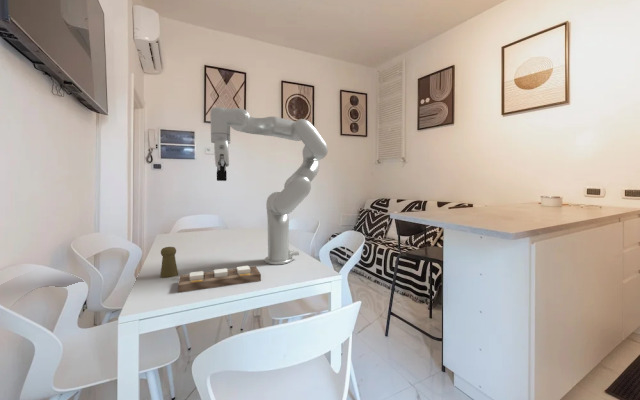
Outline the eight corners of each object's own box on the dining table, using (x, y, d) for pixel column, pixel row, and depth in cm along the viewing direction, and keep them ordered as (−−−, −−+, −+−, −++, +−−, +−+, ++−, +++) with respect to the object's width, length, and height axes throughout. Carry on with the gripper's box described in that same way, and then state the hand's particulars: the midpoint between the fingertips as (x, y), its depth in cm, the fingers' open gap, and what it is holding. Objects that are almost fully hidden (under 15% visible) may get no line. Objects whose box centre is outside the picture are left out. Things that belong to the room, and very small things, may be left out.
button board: (255, 272, 109) (255, 265, 109) (260, 280, 100) (260, 273, 100) (180, 282, 98) (180, 274, 98) (178, 292, 89) (178, 284, 89)
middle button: (226, 274, 102) (226, 268, 102) (227, 278, 98) (227, 271, 98) (214, 276, 100) (214, 269, 100) (214, 280, 96) (214, 273, 96)
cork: (160, 274, 107) (159, 246, 106) (177, 271, 110) (176, 244, 109) (160, 278, 102) (159, 249, 101) (178, 276, 105) (177, 248, 104)
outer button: (203, 277, 99) (203, 270, 99) (203, 281, 95) (203, 274, 95) (190, 279, 97) (190, 272, 97) (189, 283, 93) (189, 276, 93)
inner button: (248, 271, 105) (248, 265, 105) (250, 275, 101) (250, 268, 101) (236, 273, 103) (236, 266, 103) (238, 277, 99) (238, 270, 99)
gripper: (232, 136, 105) (233, 180, 107) (228, 142, 121) (229, 180, 122) (211, 135, 102) (212, 180, 104) (210, 141, 118) (211, 180, 119)
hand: (221, 180), depth 113 cm, fingers open, 9 cm apart
